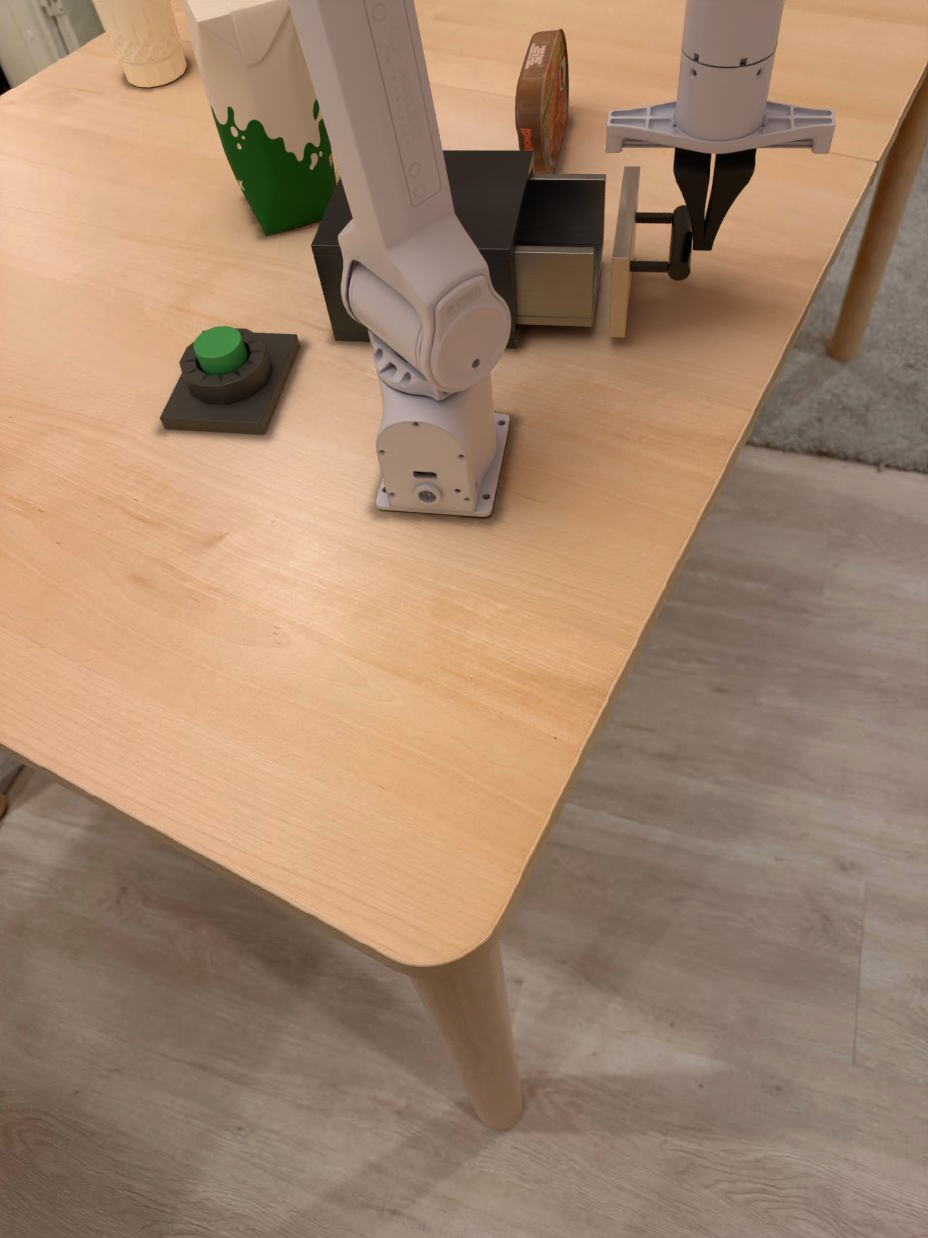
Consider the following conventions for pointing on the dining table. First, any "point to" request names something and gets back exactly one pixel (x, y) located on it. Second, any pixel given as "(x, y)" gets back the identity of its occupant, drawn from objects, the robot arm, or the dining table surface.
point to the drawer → (585, 249)
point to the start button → (220, 350)
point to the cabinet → (483, 206)
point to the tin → (543, 99)
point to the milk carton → (264, 108)
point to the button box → (233, 388)
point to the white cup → (143, 39)
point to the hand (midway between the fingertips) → (702, 242)
